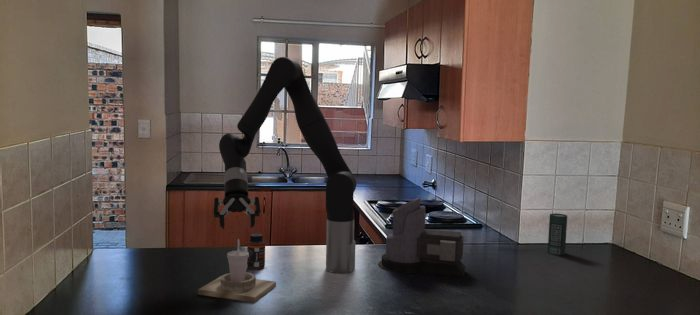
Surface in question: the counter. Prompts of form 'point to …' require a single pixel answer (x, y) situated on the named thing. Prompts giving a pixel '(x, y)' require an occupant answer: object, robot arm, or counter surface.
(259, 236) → the supplement bottle
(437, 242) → the juicer
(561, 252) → the can
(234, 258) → the smoothie
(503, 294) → the counter surface
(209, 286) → the socket board
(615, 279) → the counter surface
